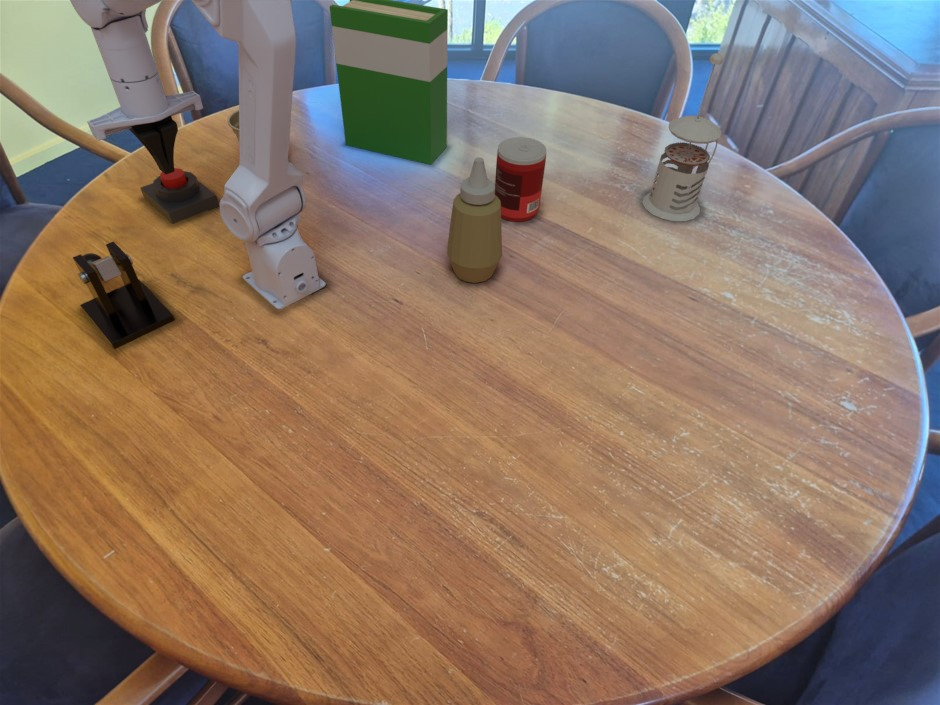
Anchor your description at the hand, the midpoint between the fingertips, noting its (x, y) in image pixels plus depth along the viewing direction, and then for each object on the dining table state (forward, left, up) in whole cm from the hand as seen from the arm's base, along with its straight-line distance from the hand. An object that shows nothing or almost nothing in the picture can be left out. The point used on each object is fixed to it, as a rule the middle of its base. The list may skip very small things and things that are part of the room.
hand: (167, 170), depth 89 cm
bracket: (-13, +15, -10) cm, 22 cm away
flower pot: (+10, -20, -11) cm, 25 cm away
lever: (-9, +15, -6) cm, 19 cm away
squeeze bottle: (-37, -26, -11) cm, 46 cm away
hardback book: (0, -42, -11) cm, 43 cm away
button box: (+8, -3, -10) cm, 13 cm away
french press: (-47, -65, -11) cm, 81 cm away
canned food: (-30, -43, -11) cm, 53 cm away
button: (+8, -3, -7) cm, 11 cm away
